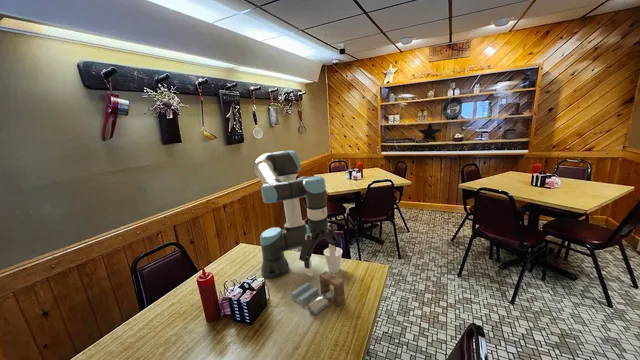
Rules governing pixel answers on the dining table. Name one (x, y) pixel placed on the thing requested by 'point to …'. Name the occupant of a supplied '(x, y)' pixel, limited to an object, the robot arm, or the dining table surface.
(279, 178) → the robot arm
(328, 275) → the brown arch block
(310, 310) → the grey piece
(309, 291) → the cradle
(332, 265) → the cup
